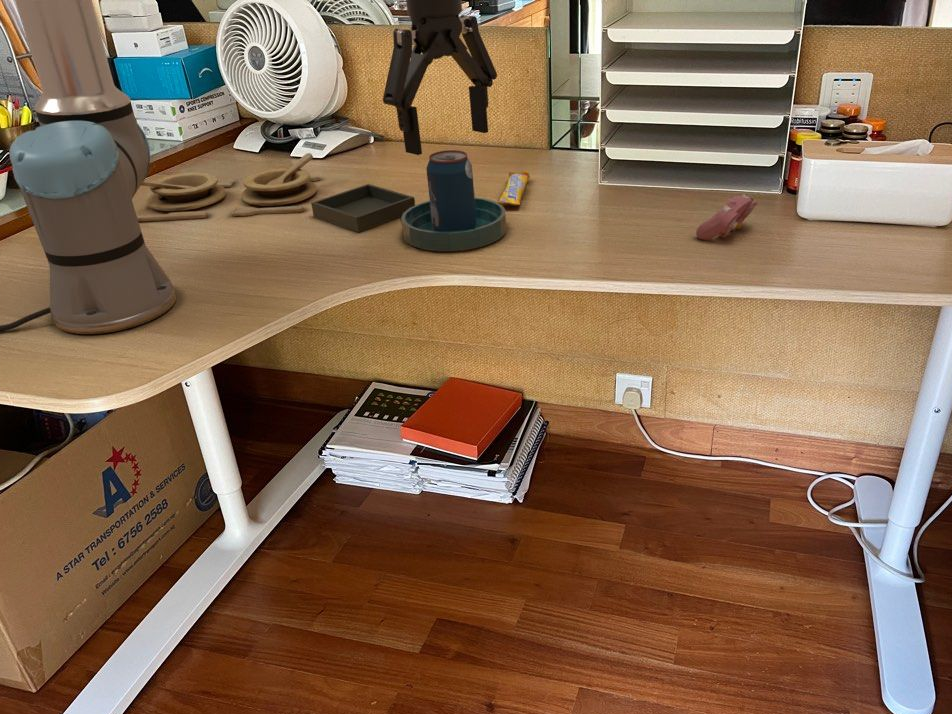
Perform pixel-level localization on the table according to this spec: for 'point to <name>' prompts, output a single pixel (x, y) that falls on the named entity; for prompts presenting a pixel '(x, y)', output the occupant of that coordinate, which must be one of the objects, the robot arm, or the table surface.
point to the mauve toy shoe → (727, 218)
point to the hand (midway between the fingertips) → (448, 142)
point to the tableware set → (207, 189)
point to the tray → (362, 207)
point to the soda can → (451, 191)
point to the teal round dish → (425, 236)
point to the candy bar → (514, 189)
